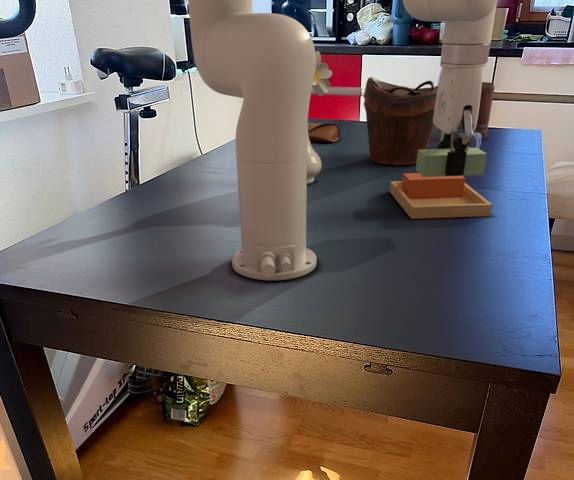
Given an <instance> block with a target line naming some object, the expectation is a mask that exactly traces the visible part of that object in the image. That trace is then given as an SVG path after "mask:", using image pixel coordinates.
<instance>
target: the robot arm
mask: <svg viewBox="0 0 574 480" xmlns="http://www.w3.org/2000/svg"><path fill="white" fill-rule="evenodd" d="M498 1H499V0H402V5H403V6H404V9H405V11H406V12H407V14H408V15H410V16H411V17H412V18H414V19H416V20H418V21H420V22H421V21H422V22H438V23H439V22H441V23H442V22H444V26H443V35H442V36H443V37H442V45H441V52H440V62H439V67H441V70H440V75H439V79H438V84H437V86H438V89H437V95H436V102H435V108H434V115H433V124H434V128H437V129H439V130H438V132H439V134H438V138H437V139H438V140H437V143H438V144H437V149H450V152H448V154H447V162H446V169H445V175H446V176H462V175H463V174H464V167H465V161H466V154H467V151H468V144H469V141H470V140H471V138H472V136H473V131H474V130H475V128H476V124H477V119H478V113H479V105H480V97H481V87H482V82H483V72H484V68H487V67H488V62H489V55H490V49H491V42H492V36H493V31H494V24H495V17H496V10H497V5H498ZM187 5H188V17H189V27H190V37H191V46H192V53H193V59H194V63H195V66H196V69H197V72H198V75H199V77H200V78H201V79H202V81H203V83H204V84H205V85H206V86H207V87H208V88H209V89H211V90H212V91H214V92H216V93H217V94H220V95H224V96H228V97H234V98H240V99H243V100H242V105H241V108H240V112H239V115H238V119H237V124H236V128H235V156H236V173H237V191H238V207H239V226H240V240H241V241H240V244H241V249H240V250H237V252H235V253H234V254H233V256H232V258H231V262H232V263H231V265H232V269H233V270H234V272H236V273H238V274H239V275H241V276H243V277H246V278H249V279H253V280H259V281H273V282H274V281H275V282H276V281H287V280H292V279H297V278H301V277H303V276H306V275H307V274H309V273H311V272H312V271H314V269H315V268H316V267H317V262H318V261H317V260H318V259H317V255H316V253H315V252H314V251H313V250H311V249H310V248H308V247H307V191H308V190H307V187H308V186H307V185H308V184H307V123H309V122H308V121H309V110H310V102H311V96H312V90H313V87H312V86H313V81H314V75H315V67H316V54H315V53H316V48H315V44H314V41H313V39H312V36H311V34H310V33H309V31H308V30H307V29H306V28H305V26H304V25H303V24H302V23H300V22H299V21H298V20H297V19H295V18H294V17H293V18H292V17H291V16H288V15H285V14H280V13H273V12H271V13H270V12H269V13H268V12H253V0H187ZM458 130H461V131H458Z"/></svg>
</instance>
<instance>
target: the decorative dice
mask: <svg viewBox="0 0 574 480" xmlns="http://www.w3.org/2000/svg"><path fill="white" fill-rule="evenodd" d="M481 144H482V140H481V134H480V133H477V132H473V136H472V138H471V140H470V141H469V144H468V148H479V149H480V147H481Z"/></svg>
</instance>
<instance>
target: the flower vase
mask: <svg viewBox="0 0 574 480" xmlns="http://www.w3.org/2000/svg"><path fill="white" fill-rule="evenodd" d="M315 54H316V67H315V75H314V81H313V86H312V90H313V91H314V92H315V94H317V96H319V97H322V96H323V95H324V93H326V94H327V93H328V92H329V91H328V88H329V87H331V86H332V85H331V83H330V81H329V80H328V79H331V77H332V76H333V71H332V70H330V69H329V65H328V64H327V63H325V62H322V56H321V53H320V51H319V50H317V51H315ZM308 123H309V122H308ZM308 123H307V185H309V184H312V183H314V182H315V177H316V176H317V175H318V174H320V172H321V170H322V169H323V166H322V165H323V163H322V160H321V157H320V155H319V154H318V153H317V152H316V150H315V149H314V148H313V146H312V142H310V140H309V135H308Z"/></svg>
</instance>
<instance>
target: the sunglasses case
mask: <svg viewBox="0 0 574 480" xmlns="http://www.w3.org/2000/svg"><path fill="white" fill-rule="evenodd" d="M308 135H309V140H310V143H335V142H337V141H339V140H340V136H341V129H340V127H339V125H338V124H336V123H331V122H329V123H328V122H327V123H317V122H308Z"/></svg>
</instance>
